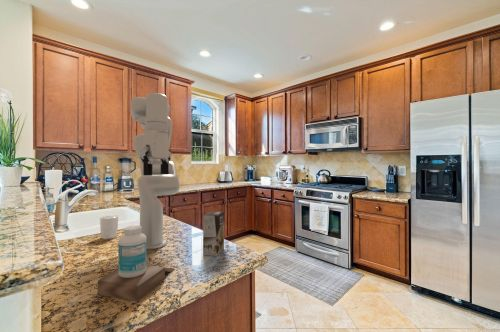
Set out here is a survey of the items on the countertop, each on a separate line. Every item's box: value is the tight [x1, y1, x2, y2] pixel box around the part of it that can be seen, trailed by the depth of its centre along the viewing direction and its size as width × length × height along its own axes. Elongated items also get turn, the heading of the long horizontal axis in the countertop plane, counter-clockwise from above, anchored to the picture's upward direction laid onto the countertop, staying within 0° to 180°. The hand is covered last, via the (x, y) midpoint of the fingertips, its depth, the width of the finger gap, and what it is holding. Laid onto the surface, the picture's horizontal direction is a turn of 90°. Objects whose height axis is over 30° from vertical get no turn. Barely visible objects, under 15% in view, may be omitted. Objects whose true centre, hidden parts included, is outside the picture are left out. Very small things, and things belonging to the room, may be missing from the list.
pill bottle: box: [117, 225, 148, 278], centre depth 70 cm, size 8×7×14 cm
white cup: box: [99, 214, 119, 240], centre depth 118 cm, size 8×8×10 cm
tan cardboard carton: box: [97, 265, 175, 302], centre depth 74 cm, size 13×20×5 cm, turn 166°
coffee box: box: [202, 210, 225, 257], centre depth 99 cm, size 9×6×16 cm
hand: (156, 174), depth 88 cm, fingers open, 9 cm apart
